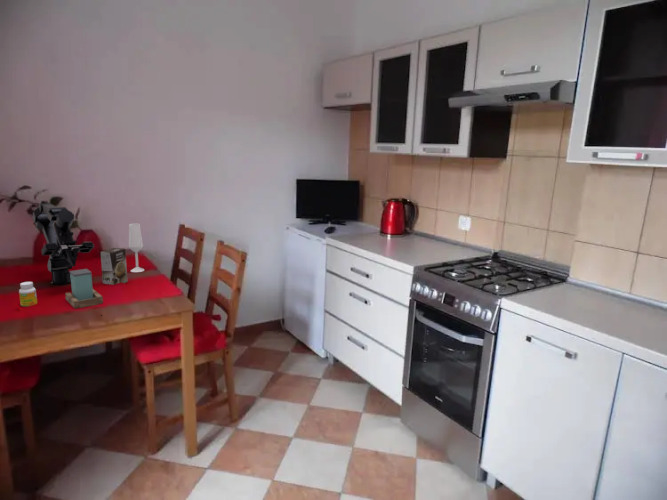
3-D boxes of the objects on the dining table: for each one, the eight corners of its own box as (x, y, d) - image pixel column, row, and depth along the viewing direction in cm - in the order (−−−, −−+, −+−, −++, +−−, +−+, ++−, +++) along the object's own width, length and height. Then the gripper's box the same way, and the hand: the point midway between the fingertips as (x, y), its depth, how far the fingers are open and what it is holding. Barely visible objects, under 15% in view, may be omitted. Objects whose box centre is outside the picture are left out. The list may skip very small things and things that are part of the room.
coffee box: (115, 287, 197) (112, 252, 193) (102, 286, 198) (99, 251, 195) (128, 281, 206) (126, 248, 202) (116, 280, 207) (113, 247, 203)
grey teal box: (72, 299, 177) (69, 271, 174) (89, 296, 181) (86, 268, 178) (76, 304, 172) (73, 274, 170) (94, 300, 177) (91, 272, 174)
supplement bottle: (20, 310, 167) (16, 286, 165) (22, 305, 172) (19, 281, 170) (36, 308, 170) (33, 284, 168) (38, 303, 175) (35, 280, 172)
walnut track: (64, 302, 177) (63, 293, 176) (94, 297, 184) (93, 288, 183) (74, 312, 167) (73, 302, 167) (104, 306, 175) (104, 296, 174)
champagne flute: (131, 272, 219) (127, 225, 214) (129, 269, 225) (126, 223, 219) (145, 271, 223) (142, 225, 217) (143, 268, 228) (140, 222, 223)
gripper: (80, 241, 199) (89, 272, 195) (32, 243, 184) (42, 277, 180) (89, 229, 193) (99, 260, 189) (41, 230, 178) (51, 264, 174)
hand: (73, 266), depth 183 cm, fingers closed
